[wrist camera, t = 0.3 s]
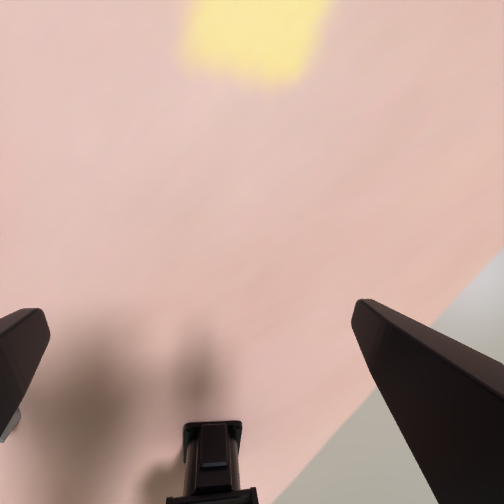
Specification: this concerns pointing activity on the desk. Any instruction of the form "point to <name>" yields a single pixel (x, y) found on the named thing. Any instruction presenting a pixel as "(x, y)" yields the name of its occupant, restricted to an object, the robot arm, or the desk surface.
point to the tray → (10, 425)
